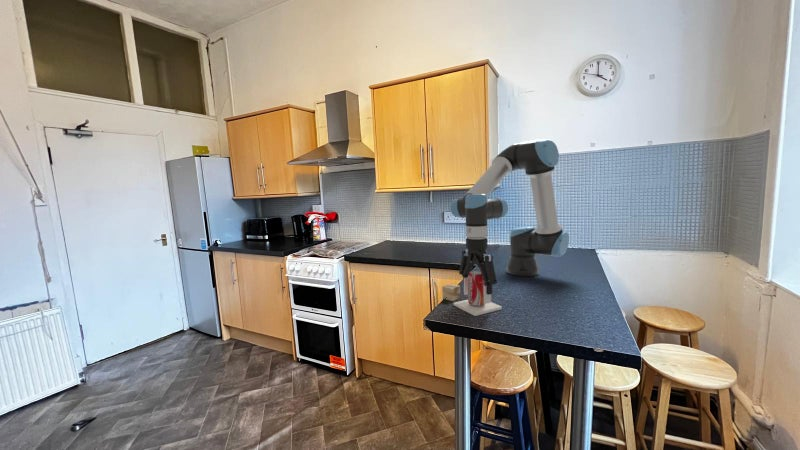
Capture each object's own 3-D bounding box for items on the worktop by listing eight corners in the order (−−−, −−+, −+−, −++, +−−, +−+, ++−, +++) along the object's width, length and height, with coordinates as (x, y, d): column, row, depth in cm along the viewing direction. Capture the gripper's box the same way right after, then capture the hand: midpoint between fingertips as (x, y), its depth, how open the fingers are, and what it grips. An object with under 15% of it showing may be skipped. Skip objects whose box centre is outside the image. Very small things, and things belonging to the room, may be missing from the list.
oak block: (449, 295, 129) (449, 283, 128) (460, 298, 125) (460, 285, 125) (442, 298, 125) (442, 286, 124) (453, 301, 122) (452, 288, 121)
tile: (479, 299, 122) (479, 297, 122) (501, 309, 112) (501, 306, 111) (453, 305, 117) (453, 302, 117) (474, 316, 106) (474, 313, 106)
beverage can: (464, 302, 116) (464, 271, 115) (479, 300, 118) (479, 269, 117) (474, 308, 110) (474, 275, 109) (489, 305, 112) (489, 273, 111)
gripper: (449, 235, 120) (450, 291, 122) (490, 242, 100) (491, 310, 102) (464, 233, 124) (465, 288, 126) (508, 240, 103) (508, 306, 105)
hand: (477, 298), depth 114 cm, fingers open, 10 cm apart
